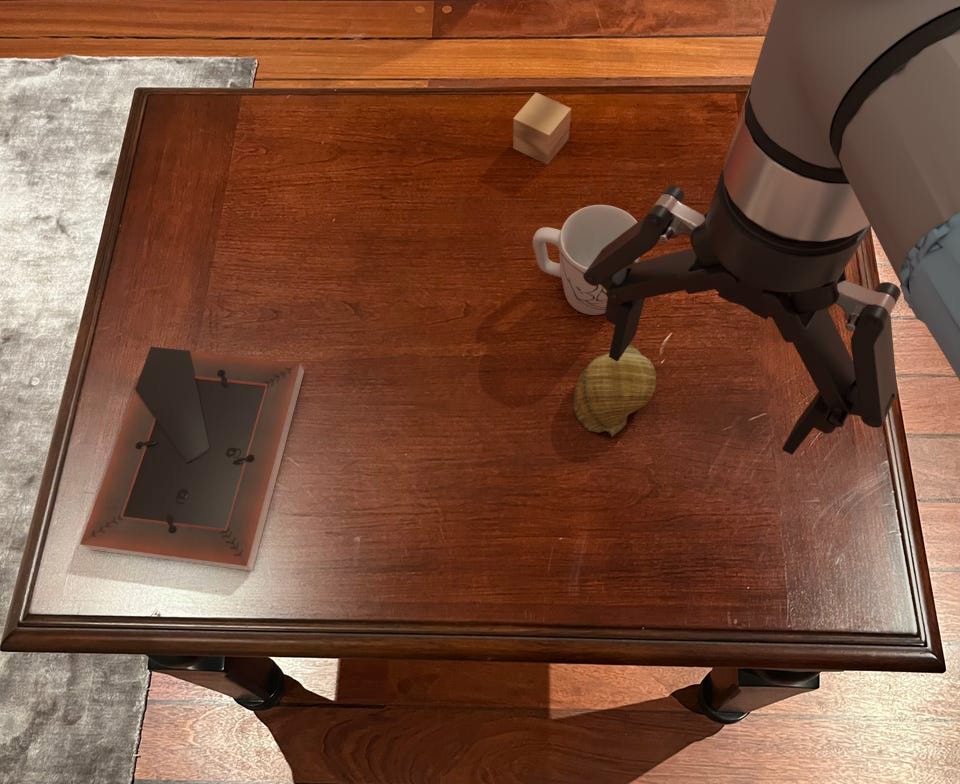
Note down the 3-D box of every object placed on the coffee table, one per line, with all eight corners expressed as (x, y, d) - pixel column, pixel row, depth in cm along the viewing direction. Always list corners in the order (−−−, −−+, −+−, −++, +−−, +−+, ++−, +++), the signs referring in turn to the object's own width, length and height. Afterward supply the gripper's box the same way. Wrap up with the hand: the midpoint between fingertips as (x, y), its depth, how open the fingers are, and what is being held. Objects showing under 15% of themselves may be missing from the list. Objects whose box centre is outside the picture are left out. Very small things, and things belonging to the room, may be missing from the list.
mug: (518, 302, 89) (519, 248, 80) (545, 244, 92) (549, 186, 83) (616, 334, 86) (629, 283, 78) (640, 274, 90) (655, 218, 81)
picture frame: (159, 357, 87) (91, 550, 78) (150, 346, 85) (78, 543, 76) (305, 373, 86) (253, 571, 76) (300, 362, 83) (246, 565, 74)
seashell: (604, 446, 85) (660, 443, 79) (554, 428, 82) (609, 423, 75) (617, 361, 88) (673, 350, 81) (570, 339, 84) (624, 327, 77)
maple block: (568, 138, 99) (571, 108, 94) (547, 165, 97) (549, 135, 93) (534, 122, 100) (535, 92, 96) (513, 148, 99) (513, 118, 94)
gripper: (1093, 244, 36) (894, 436, 55) (611, 47, 43) (581, 277, 62) (1043, 366, 33) (852, 524, 52) (538, 134, 40) (530, 347, 59)
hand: (705, 390), depth 57 cm, fingers open, 13 cm apart
